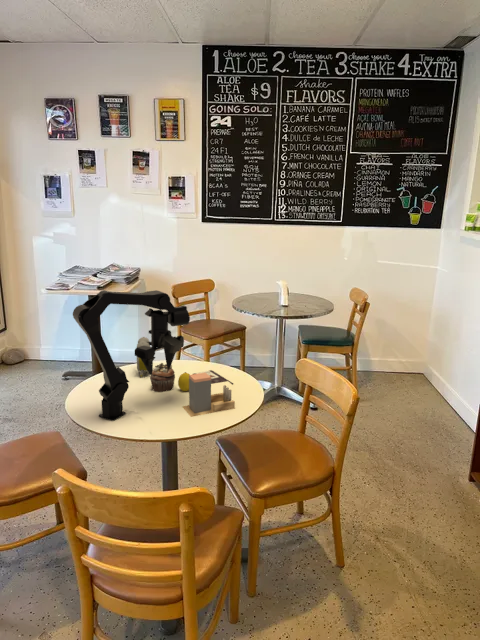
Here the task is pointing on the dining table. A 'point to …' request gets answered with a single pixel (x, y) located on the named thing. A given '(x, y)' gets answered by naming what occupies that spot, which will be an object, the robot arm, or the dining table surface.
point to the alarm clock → (140, 364)
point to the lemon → (184, 382)
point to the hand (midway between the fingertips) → (159, 370)
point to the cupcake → (162, 378)
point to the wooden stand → (216, 403)
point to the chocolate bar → (215, 377)
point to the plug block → (200, 392)
